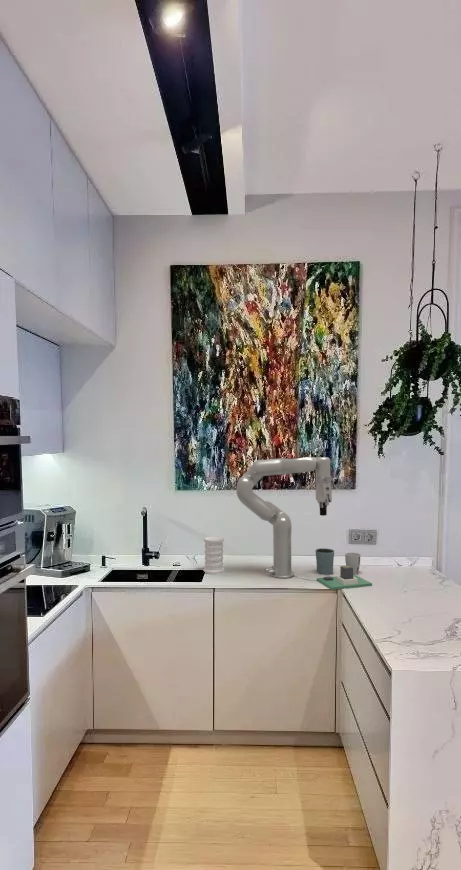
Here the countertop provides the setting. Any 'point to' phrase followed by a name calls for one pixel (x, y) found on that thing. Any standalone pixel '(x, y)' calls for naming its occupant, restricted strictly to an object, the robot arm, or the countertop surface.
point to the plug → (346, 572)
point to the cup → (353, 561)
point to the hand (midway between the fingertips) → (323, 515)
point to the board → (343, 582)
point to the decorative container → (213, 555)
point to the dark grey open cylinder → (324, 561)
